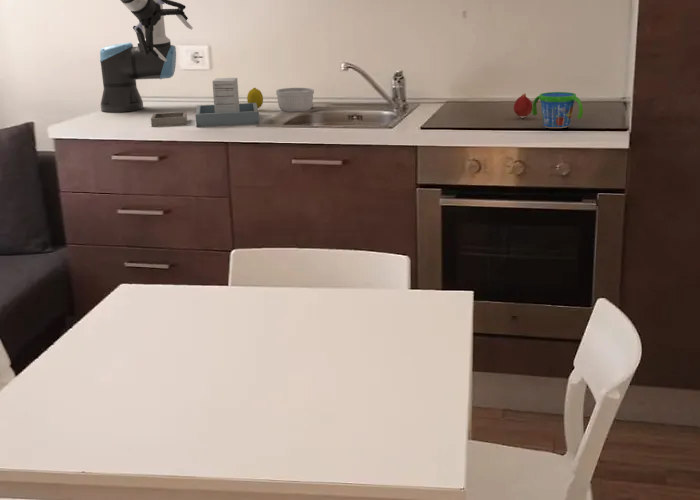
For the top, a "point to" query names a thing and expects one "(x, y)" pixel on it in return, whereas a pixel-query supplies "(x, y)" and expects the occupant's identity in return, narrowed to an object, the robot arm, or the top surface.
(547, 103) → the snack cup
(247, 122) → the tray
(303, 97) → the ramekin
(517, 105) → the onion
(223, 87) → the supplement box
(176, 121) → the collar
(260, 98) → the lemon
